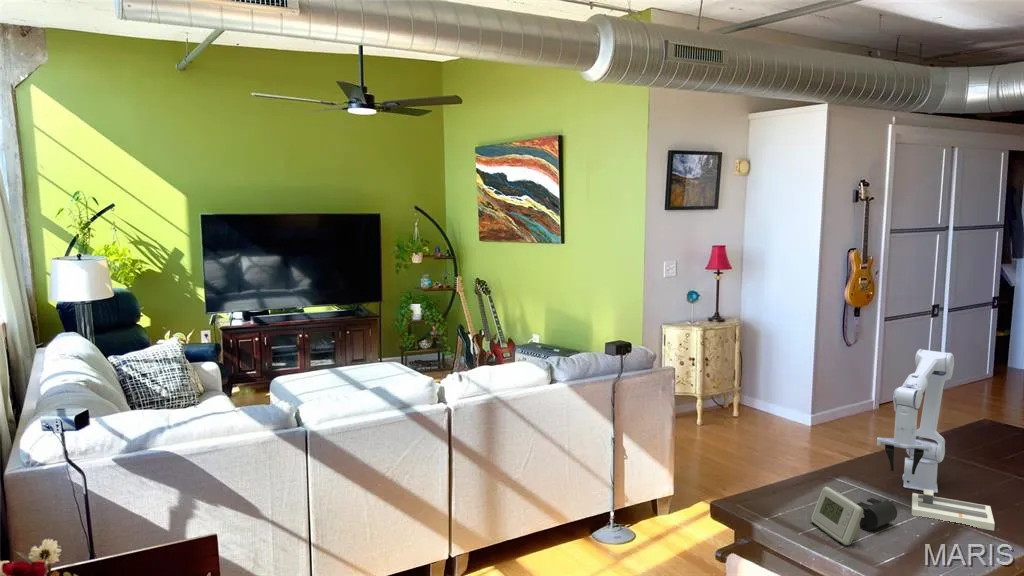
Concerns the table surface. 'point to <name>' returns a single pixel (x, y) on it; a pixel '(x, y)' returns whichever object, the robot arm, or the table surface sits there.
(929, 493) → the fader tab
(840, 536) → the digital clock
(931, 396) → the robot arm
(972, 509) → the console
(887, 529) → the table surface
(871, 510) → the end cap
